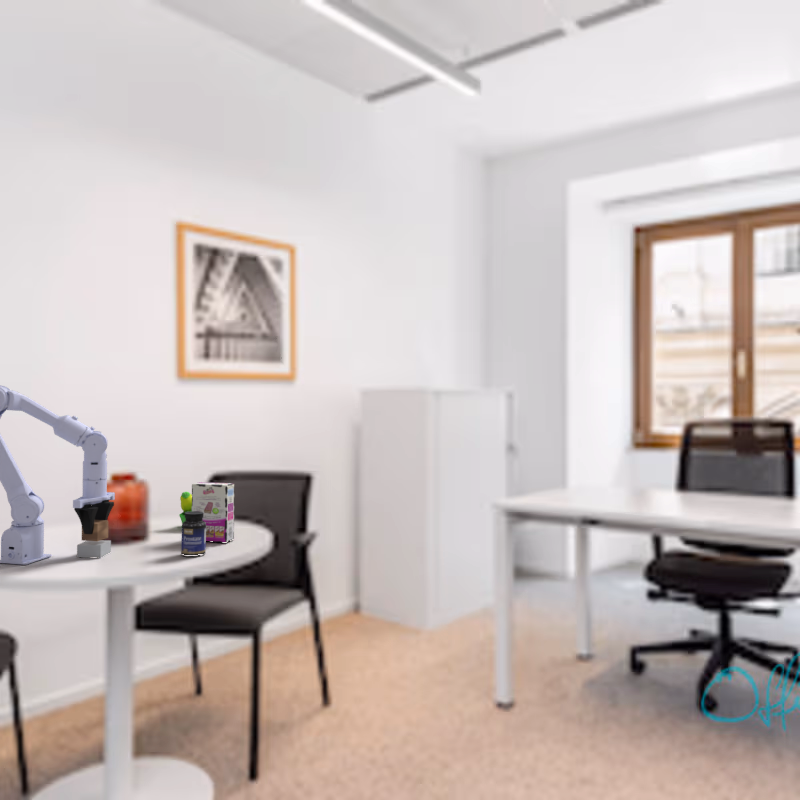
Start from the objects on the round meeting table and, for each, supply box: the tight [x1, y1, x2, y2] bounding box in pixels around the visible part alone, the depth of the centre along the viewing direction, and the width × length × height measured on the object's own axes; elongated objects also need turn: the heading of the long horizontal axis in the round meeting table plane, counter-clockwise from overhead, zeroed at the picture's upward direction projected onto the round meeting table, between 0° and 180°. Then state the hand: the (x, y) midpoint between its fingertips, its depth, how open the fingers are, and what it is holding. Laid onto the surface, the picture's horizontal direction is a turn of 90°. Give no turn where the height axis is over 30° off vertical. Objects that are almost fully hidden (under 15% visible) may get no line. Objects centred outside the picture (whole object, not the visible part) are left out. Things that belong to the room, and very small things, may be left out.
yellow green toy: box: [178, 491, 192, 524], centre depth 219 cm, size 11×9×11 cm
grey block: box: [76, 539, 112, 559], centre depth 181 cm, size 6×6×4 cm
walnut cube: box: [81, 519, 109, 542], centre depth 181 cm, size 4×4×4 cm
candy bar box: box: [191, 481, 235, 543], centre depth 200 cm, size 11×5×16 cm, turn 76°
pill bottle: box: [180, 511, 207, 555], centre depth 183 cm, size 6×6×11 cm
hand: (94, 531), depth 181 cm, fingers closed on walnut cube, 4 cm apart
